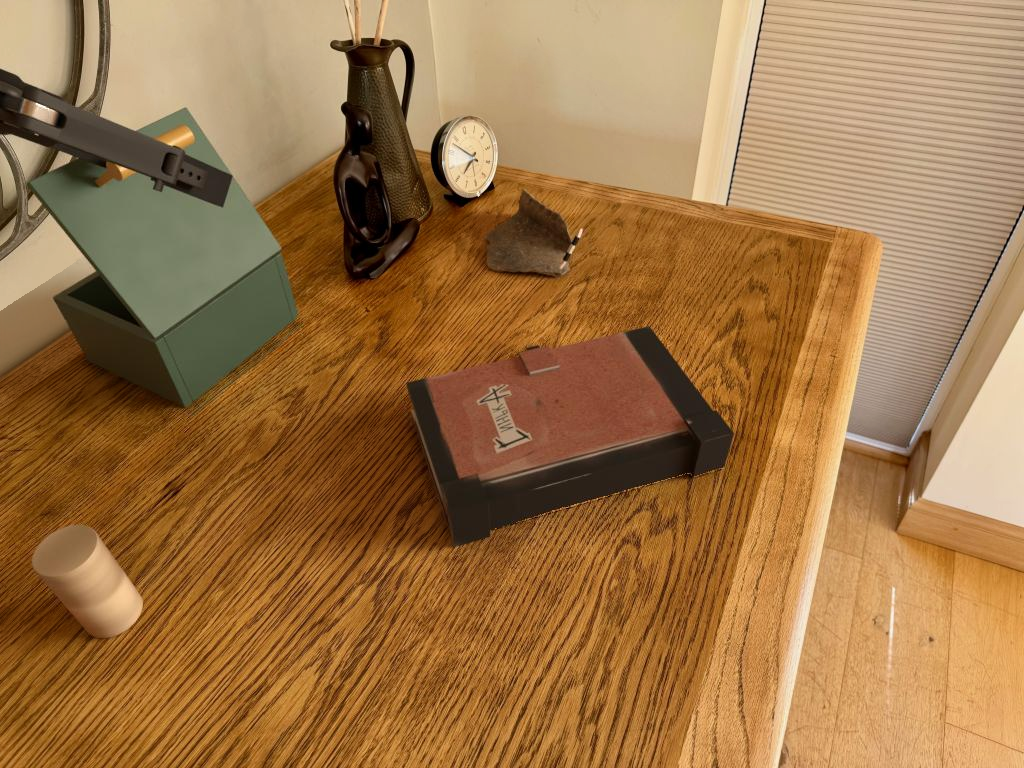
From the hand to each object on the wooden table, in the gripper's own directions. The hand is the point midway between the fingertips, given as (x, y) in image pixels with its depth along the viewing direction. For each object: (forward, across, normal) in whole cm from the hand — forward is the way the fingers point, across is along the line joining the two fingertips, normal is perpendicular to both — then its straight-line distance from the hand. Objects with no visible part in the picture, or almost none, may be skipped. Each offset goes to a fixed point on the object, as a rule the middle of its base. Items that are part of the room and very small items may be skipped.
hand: (168, 172), depth 61 cm
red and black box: (+23, +34, -12) cm, 42 cm away
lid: (+6, -6, -4) cm, 9 cm away
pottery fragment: (+43, +15, +7) cm, 46 cm away
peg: (-2, +10, -35) cm, 37 cm away
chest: (+18, -8, -16) cm, 26 cm away
